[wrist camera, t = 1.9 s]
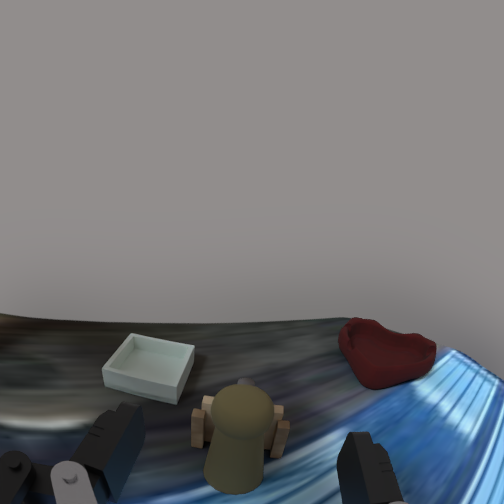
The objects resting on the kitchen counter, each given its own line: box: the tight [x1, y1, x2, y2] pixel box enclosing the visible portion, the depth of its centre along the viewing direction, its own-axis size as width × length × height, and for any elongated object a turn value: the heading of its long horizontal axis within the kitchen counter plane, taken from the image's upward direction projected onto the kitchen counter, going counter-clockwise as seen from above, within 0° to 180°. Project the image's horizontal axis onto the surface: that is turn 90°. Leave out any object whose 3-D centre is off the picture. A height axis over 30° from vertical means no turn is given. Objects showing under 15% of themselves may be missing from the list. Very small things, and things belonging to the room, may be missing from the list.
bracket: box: [191, 378, 290, 458], centre depth 30 cm, size 10×5×9 cm, turn 86°
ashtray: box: [338, 317, 436, 389], centre depth 46 cm, size 18×16×5 cm
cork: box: [203, 384, 274, 495], centre depth 24 cm, size 6×6×11 cm
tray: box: [102, 333, 195, 405], centre depth 39 cm, size 10×10×3 cm
